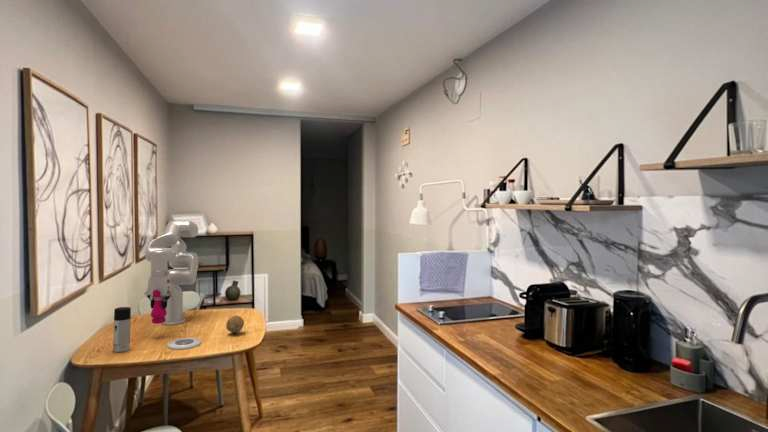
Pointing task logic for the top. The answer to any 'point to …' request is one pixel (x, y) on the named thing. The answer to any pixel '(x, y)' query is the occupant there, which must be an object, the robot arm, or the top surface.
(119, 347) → the spray can
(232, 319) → the natural sponge
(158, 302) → the pepper mill
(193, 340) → the mount plate
